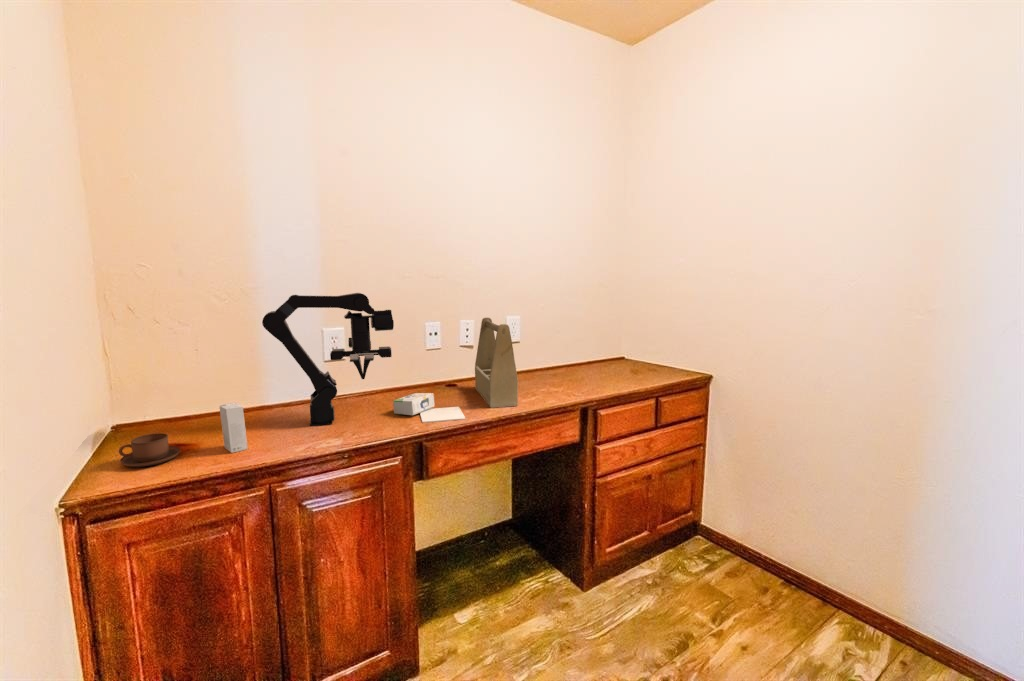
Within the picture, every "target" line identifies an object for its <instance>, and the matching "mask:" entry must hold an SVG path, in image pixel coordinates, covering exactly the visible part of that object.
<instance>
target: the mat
mask: <svg viewBox="0 0 1024 681" xmlns="http://www.w3.org/2000/svg"><path fill="white" fill-rule="evenodd" d="M419 415H420V419H421V422H422V424H427V423H438V422H449V421H450V422H451V421H463V420H464V421H465V420H466V419H467V418H466V416H465V415H464V413H463V411H462V410H461V408H460V406H451V407H449V406H448V407H447V406H446V407H435V408H434V407H433V408H430V409H427V410H425V411H422V412H420V413H419Z"/></svg>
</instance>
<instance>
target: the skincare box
mask: <svg viewBox="0 0 1024 681" xmlns="http://www.w3.org/2000/svg"><path fill="white" fill-rule="evenodd" d="M219 414H220V423H221V428H222V429H221V430H222V437H223V438H222V439H223V445H224V449H226V450H227V451H229V453H231V454H232V453H237V452H238V453H239V452H242V451H245V450H246V451H247V450H248V440H247V439H248V438H247V430H246V424H245V423H246V422H245V415H244V414H245V413H244V406H243V405H240V404H238V402H233V403H227V404H222V405H219Z"/></svg>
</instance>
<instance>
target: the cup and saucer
mask: <svg viewBox="0 0 1024 681" xmlns="http://www.w3.org/2000/svg"><path fill="white" fill-rule="evenodd" d="M168 437H169V435H168V434H167V433H159V432H157V433H156V432H155V433H151V434H149V433H148V434H144V435H140V436H137V437H134V438H133V439H131V441H130V443H129V444H123V445H121V446H120V447H119V450H118V453H119V455H120V456H122V457H121V458H120V462H121V464H122V465H124V466H125V467H132V468H142V467H149V466H155V465H159V464H162V463H165V462H168V461H170V460H173V459H174V458H175V457H177V456H178V455H179V454H180V452H181V448H180V447H179V446H176V445H169V438H168ZM125 448H131V452H129V453H124V452H123V450H124V449H125Z"/></svg>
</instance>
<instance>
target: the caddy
mask: <svg viewBox="0 0 1024 681" xmlns="http://www.w3.org/2000/svg"><path fill="white" fill-rule="evenodd" d="M495 334H496V335H495ZM475 356H476V357H475V363H474V380H475V382H474V383H475V390H476V392H477V393H478V394H479V395H480V396H481V397H482V399H483V400H484V401H485V403H486V404H487V405H488V406H489V408H491V409H495V408H505V407H507V408H508V407H517V406H518V404H519V403H518V402H519V399H518V397H519V392H518V391H519V390H518V389H519V386H518V385H519V383H518V382H519V379H518V373H517V372H518V371H517V367H516V360H515V354H514V347H513V342H512V335H511V330H510V326H509V324H506V323H503V324H502V323H500V324H499V325H498V324H496V323H494V322H493V321H492V319H491V318H490V317H483V318H482V320H481V323H480V331H479V336H478V343H477V349H476V355H475Z"/></svg>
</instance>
